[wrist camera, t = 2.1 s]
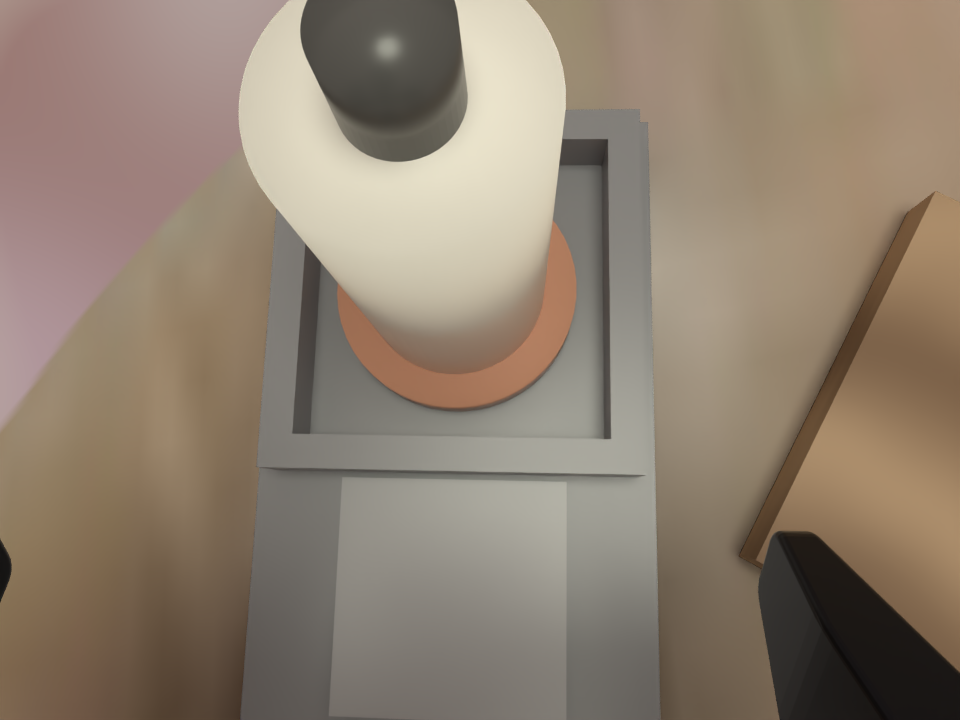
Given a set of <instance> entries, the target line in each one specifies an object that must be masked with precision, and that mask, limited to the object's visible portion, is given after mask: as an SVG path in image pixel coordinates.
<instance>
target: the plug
mask: <svg viewBox="0 0 960 720" xmlns="http://www.w3.org/2000/svg"><path fill="white" fill-rule="evenodd" d="M565 110H566V87H565V80H564V72H563V67H562V64H561V60H560V57H559V53H558V50H557V48H556V46H555V43H554V41H553V39H552V37H551V34H550V32H549V31H548V29H547V27H546V26H545V24H544V23H543V21H542V20H541V18H540V16H539V15H538V14H537V13H536V12H535V10H534V9H533V8H532V7H531V6H530V4H529V3H528V2H527V1H526V0H290V1H288V2H287V3H286V4H285V6H283V8H282V9H281V10H280V11H279V12H278V13H277V14H276V15H275V16H274V17H273V19H272V20H271V21H270V23H269V25H268V26H267V27H266V28H265V30H264V31H263V33H262V34H261V36H260V38H259V40H258V41H257V43H256V45H255V47H254V49H253V51H252V53H251V56H250V58H249V61H248V64H247V66H246V69H245V72H244V77H243V80H242V85H241V89H240V99H239V129H240V134H241V139H242V145H243V149H244V152H245V155H246V158H247V161H248V164H249V167H250V168H251V170H252V172H253V174H254V176H255V178H256V180H257V182H258V184H259V186H260V187H261V188H262V190H263V191H264V193H265V194H266V195H267V197H268V198H269V200H270V201H271V202H272V203H273V205H274V206H275V207H276V208H277V209H278V211H279V212H280V213H281V214H282V216H283V217H284V218H285V219H286V220H287V222H288V223H289V224H290V225H291V226H292V228H293V229H294V230H295V231H296V233H297V234H298V235H299V236H300V237H301V239H302V240H303V241H304V242H305V244H306V245H307V246H308V247H309V248H310V250H311V251H312V252H313V253H314V254H315V256H316V257H317V258H318V259H319V261H320V262H321V263H322V264H323V265H324V267H325V268H326V269H327V270H328V271H329V273H330V274H331V275H332V276H333V278H334V279H335V280H336V281H337V282H338V288H337V299H338V310H339V315H340V320H341V324H342V327H343V330H344V332H345V335H346V338H347V340H348V342H349V344H350V346H351V348H352V350H353V351H354V353H355V354H356V356H357V357H358V358H359V360H360V361H361V363H362V364H363V365H364V366H365V367H366V368H367V369H368V370H369V372H370V373H371V374H372V375H373V376H374V377H376V378H377V379H378V380H379V381H380V382H381V383H383V384H384V385H385V386H386V387H387V388H389V389H390V390H391V391H393V392H394V393H396V394H398V395H399V396H401V397H402V398H404V399H406V400H408V401H411V402H413V403H415V404H417V405H421V406H424V407H427V408H431V409H436V410H442V411H457V412H464V411H473V410H480V409H484V408H488V407H492V406H495V405H498V404H500V403H503V402H506V401H508V400H510V399H512V398H513V397H515V396H517V395H519V394H521V393H522V392H524V391H525V390H526V389H528V388H529V387H530V386H532V385H533V384H534V383H535V382H536V381H537V380H538V379H539V378H541V377H542V376H543V375H544V374H545V372H546V371H547V370H548V369H549V367H550V366H551V365H552V364H553V362H554V361H555V359H556V358H557V356H558V354H559V353H560V351H561V349H562V347H563V345H564V343H565V340H566V338H567V336H568V332H569V329H570V325H571V322H572V318H573V314H574V310H575V303H576V274H575V267H574V263H573V259H572V256H571V252H570V250H569V247H568V245H567V242H566V240H565V238H564V236H563V234H562V233H561V231H560V229H559V228H558V226H557V225H556V223H555V222H554V221H553V213H554V204H555V196H556V187H557V179H558V170H559V161H560V153H561V144H562V136H563V127H564V118H565Z"/></svg>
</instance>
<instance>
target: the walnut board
mask: <svg viewBox="0 0 960 720" xmlns="http://www.w3.org/2000/svg"><path fill="white" fill-rule="evenodd" d="M777 531H809V532H812V533H814V534H816V535H818V536H819V537H820V538H821V539H822V540H823V541H824V542H825V543H826V544H827V545H828V546H829V547H830V548H831V549H832V550H833V551H834V552H836V553H837V554H838V555H839V556H840V557H841V558H842V559H843V560H844V561H845V562H846V563H847V564H848V565H849V566H850V567H851V568H852V569H853V570H854V571H855V572H856V573H857V574H858V575H859V576H860V577H862V578H863V579H864V580H865V581H866V582H867V583H868V584H869V585H870V586H871V587H872V588H873V589H874V590H875V591H876V592H877V593H878V594H879V595H880V596H881V597H882V598H883V599H884V600H885V601H886V602H888V603H889V604H890V605H891V606H892V607H893V608H894V609H895V610H896V611H897V612H898V613H899V614H900V615H901V616H902V617H903V618H904V619H905V620H906V621H907V622H908V623H909V624H910V625H911V626H912V627H914V628H915V629H916V630H917V631H918V632H919V633H920V634H921V635H922V636H923V637H924V638H925V639H926V640H927V641H928V642H929V643H930V644H931V645H932V646H933V647H934V648H935V649H936V650H937V651H938V652H939V653H941V654H942V655H943V656H944V657H945V658H946V659H947V660H948V661H949V662H950V663H951V664H952V665H953V666H954V667H955V668H956V669H957V670H958V671H959V672H960V202H958V201H956V200H954V199H952V198H950V197H948V196H945V195H943V194H941V193H939V192H937V191H935V192H934V193H932V194H931V195H930V196H928V197H927V198H926V199H924V200H923V201H922V202H921V203H919V204H918V205H917V206H915V207H914V208H913V209H911V210H910V211H909V212H908V213H907V215H906V217H905V219H904V221H903V223H902V225H901V227H900V229H899V231H898V233H897V235H896V237H895V239H894V241H893V243H892V245H891V247H890V249H889V251H888V253H887V256H886V258H885V260H884V262H883V264H882V266H881V268H880V270H879V272H878V274H877V276H876V278H875V280H874V282H873V284H872V286H871V288H870V290H869V292H868V294H867V296H866V298H865V300H864V302H863V304H862V306H861V308H860V310H859V313H858V315H857V317H856V319H855V321H854V323H853V325H852V327H851V329H850V331H849V333H848V335H847V337H846V339H845V341H844V343H843V345H842V347H841V349H840V351H839V353H838V355H837V357H836V359H835V361H834V363H833V365H832V367H831V370H830V372H829V374H828V376H827V378H826V380H825V382H824V384H823V386H822V388H821V390H820V392H819V394H818V396H817V398H816V400H815V402H814V404H813V406H812V408H811V410H810V412H809V414H808V416H807V418H806V420H805V422H804V424H803V427H802V429H801V431H800V433H799V435H798V437H797V439H796V441H795V443H794V445H793V447H792V449H791V451H790V453H789V455H788V457H787V459H786V461H785V463H784V465H783V467H782V469H781V471H780V473H779V475H778V477H777V479H776V481H775V484H774V486H773V488H772V490H771V492H770V494H769V496H768V498H767V500H766V502H765V504H764V506H763V508H762V510H761V512H760V514H759V516H758V518H757V520H756V522H755V524H754V526H753V528H752V530H751V532H750V534H749V536H748V538H747V541H746V543H745V545H744V547H743V549H742V551H741V553H740V555H739V557H741V558H743V559H745V560H747V561H748V562H750V563H752V564H754V565H756V566H758V567H759V568H761V569H762V567H763V564H764V560H765V556H766V553H767V549H768V546H769V542H770V539H771V537H772V535H773V534H774V533H775V532H777Z"/></svg>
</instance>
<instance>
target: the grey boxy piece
mask: <svg viewBox="0 0 960 720" xmlns="http://www.w3.org/2000/svg"><path fill="white" fill-rule="evenodd" d="M553 221H554V222H555V223H556V225H557V226H558V228H559V229H560V231H561V233H562V234H563V236H564V238H565V240H566V242H567V245H568V247H569V250H570V252H571V256H572V259H573V263H574V267H575V274H576V303H575V310H574V314H573V318H572V322H571V325H570V329H569V332H568V336H567V338H566V340H565V343H564V345H563V347H562V349H561V351H560V353H559V354H558V356H557V358H556V359H555V361H554V362H553V364H552V365H551V366H550V367H549V369H548V370H547V371H546V372H545V374H544V375H543V376H542V377H541V378H539V379H538V380H537V381H536V382H535V383H534V384H533V385H532V386H530V387H529V388H528V389H526V390H525V391H524V392H522V393H521V394H519V395H517V396H515V397H513V398H512V399H510V400H508V401H506V402H503V403H500V404H498V405H495V406H492V407H488V408H484V409H480V410H473V411H464V412H457V411H442V410H436V409H431V408H427V407H424V406H421V405H417V404H415V403H413V402H411V401H408V400H406V399H404V398H402V397H401V396H399V395H398V394H396V393H394V392H393V391H391V390H390V389H389V388H387V387H386V386H385V385H384V384H383V383H381V382H380V381H379V380H378V379H377V378H376V377H374V376H373V375H372V374H371V373H370V372H369V370H368V369H367V368H366V367H365V366H364V365H363V364H362V363H361V361H360V360H359V358H358V357H357V356H356V354H355V353H354V351H353V350H352V348H351V346H350V344H349V342H348V340H347V338H346V335H345V332H344V330H343V327H342V324H341V320H340V315H339V310H338V299H337V288H338V282H337V281H336V280H335V279H334V278H333V276H332V275H331V274H330V273H329V271H328V270H327V269H326V268H325V267H324V265H323V264H322V263H321V262H320V261H319V259H318V258H317V257H316V256H315V254H314V253H313V252H312V251H311V250H310V248H309V247H308V246H307V245H306V244H305V242H304V241H303V240H302V239H301V237H300V236H299V235H298V234H297V233H296V231H295V230H294V229H293V228H292V226H291V225H290V224H289V223H288V222H287V220H286V219H285V218H284V217H283V216H282V214H281V213H280V212H279V211H278V209H277V208H276V221H275V234H274V247H273V260H272V272H271V285H270V298H269V311H268V324H267V337H266V350H265V363H264V376H263V389H262V401H261V414H260V427H259V440H258V453H257V466H256V467H259V480H258V493H257V506H256V519H255V532H254V545H253V558H252V571H251V584H250V597H249V610H248V623H247V636H246V649H245V662H244V675H243V688H242V701H241V714H240V720H660V674H659V626H658V579H657V531H656V483H655V436H654V388H653V340H652V292H651V245H650V197H649V149H648V122H640V109H606V110H565V118H564V127H563V136H562V144H561V153H560V161H559V170H558V179H557V187H556V196H555V204H554V213H553Z"/></svg>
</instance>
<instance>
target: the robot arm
mask: <svg viewBox="0 0 960 720" xmlns="http://www.w3.org/2000/svg"><path fill="white" fill-rule="evenodd" d="M11 566H12V564H11V559H10V556H9V554H8V552H7V550H6V549H5V547H4V545H3V543H2V541H1V540H0V602H1V599H2V597H3V594H4V592H5V589H6V587H7V585H8V582H9V579H10V575H11ZM758 593H759V603H760V609H761V614H762V620H763V626H764V632H765V638H766V643H767V649H768V655H769V661H770V666H771V672H772V678H773V684H774V689H775V695H776V701H777V707H778V712H779V718H780V720H960V672H959V671H958V670H957V669H956V668H955V667H954V666H953V665H952V664H951V663H950V662H949V661H948V660H947V659H946V658H945V657H944V656H943V655H942V654H941V653H939V652H938V651H937V650H936V649H935V648H934V647H933V646H932V645H931V644H930V643H929V642H928V641H927V640H926V639H925V638H924V637H923V636H922V635H921V634H920V633H919V632H918V631H917V630H916V629H915V628H914V627H912V626H911V625H910V624H909V623H908V622H907V621H906V620H905V619H904V618H903V617H902V616H901V615H900V614H899V613H898V612H897V611H896V610H895V609H894V608H893V607H892V606H891V605H890V604H889V603H888V602H886V601H885V600H884V599H883V598H882V597H881V596H880V595H879V594H878V593H877V592H876V591H875V590H874V589H873V588H872V587H871V586H870V585H869V584H868V583H867V582H866V581H865V580H864V579H863V578H862V577H860V576H859V575H858V574H857V573H856V572H855V571H854V570H853V569H852V568H851V567H850V566H849V565H848V564H847V563H846V562H845V561H844V560H843V559H842V558H841V557H840V556H839V555H838V554H837V553H836V552H834V551H833V550H832V549H831V548H830V547H829V546H828V545H827V544H826V543H825V542H824V541H823V540H822V539H821V538H820V537H819V536H818V535H816V534H814V533H812V532H809V531H777V532H775V533H774V534H773V535H772V537H771V539H770V542H769V546H768V549H767V553H766V556H765V560H764V564H763V567H762V571H761V575H760V578H759V586H758Z"/></svg>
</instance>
